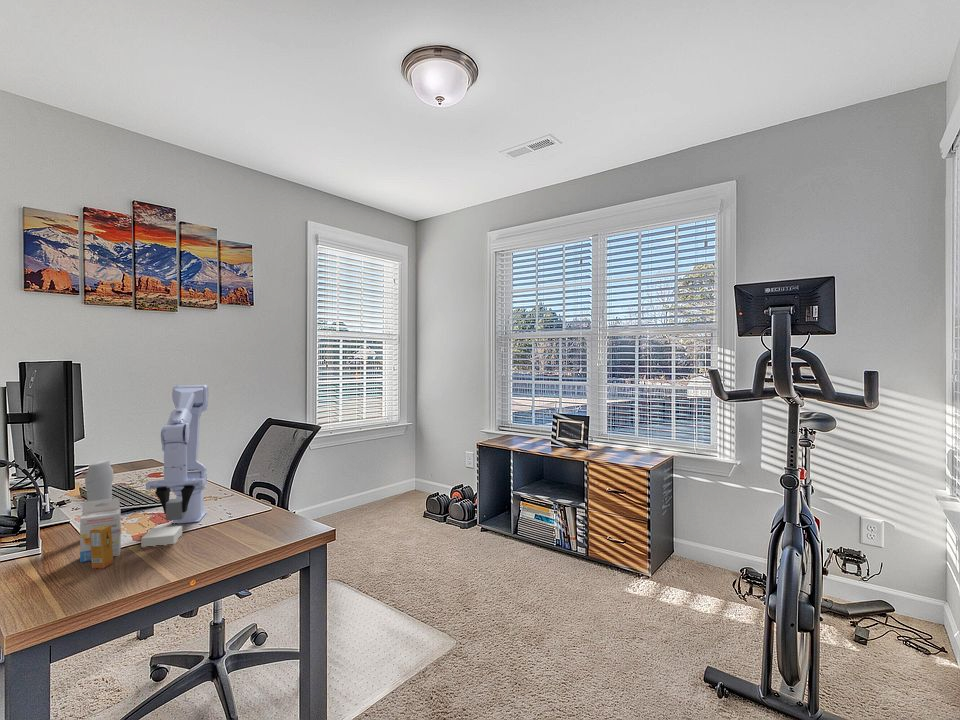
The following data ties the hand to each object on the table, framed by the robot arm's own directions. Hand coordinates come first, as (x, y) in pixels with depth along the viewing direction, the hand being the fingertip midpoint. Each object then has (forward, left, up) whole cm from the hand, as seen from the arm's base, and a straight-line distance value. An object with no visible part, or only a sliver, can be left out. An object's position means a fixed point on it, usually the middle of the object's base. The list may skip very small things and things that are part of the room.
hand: (175, 512), depth 143 cm
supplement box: (+14, -13, -9) cm, 21 cm away
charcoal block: (0, 0, -2) cm, 2 cm away
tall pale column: (-12, -24, -9) cm, 28 cm away
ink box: (+7, -16, -9) cm, 19 cm away
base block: (-1, -4, -9) cm, 10 cm away
